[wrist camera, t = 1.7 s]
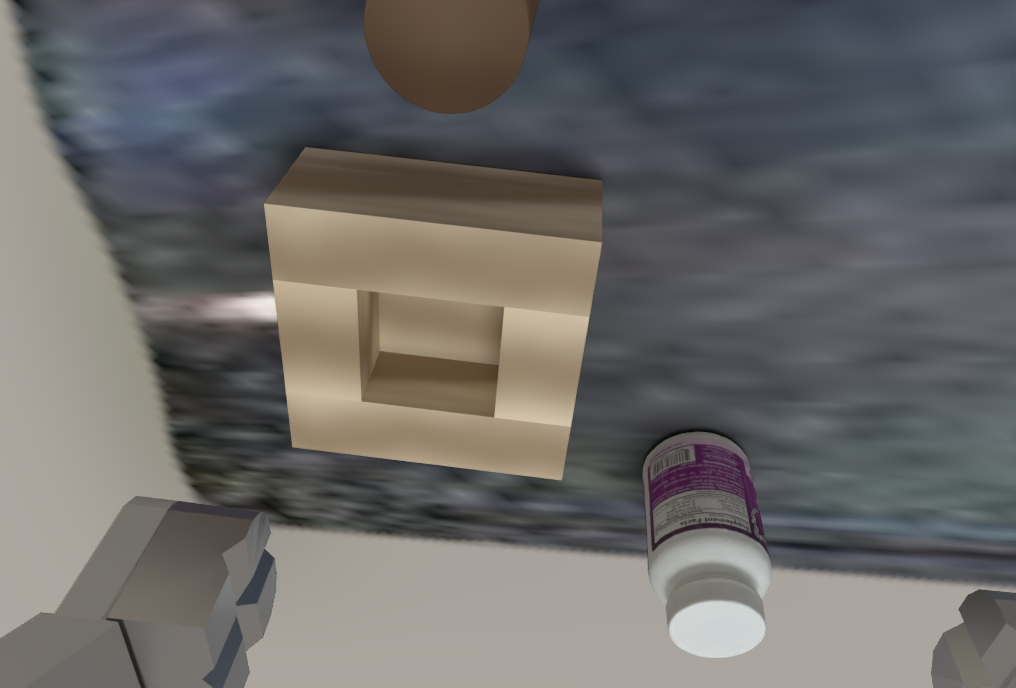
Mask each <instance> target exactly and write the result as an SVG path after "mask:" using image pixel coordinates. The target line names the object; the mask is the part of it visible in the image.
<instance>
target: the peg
mask: <svg viewBox="0 0 1016 688" xmlns="http://www.w3.org/2000/svg"><path fill="white" fill-rule="evenodd" d="M538 1H539V0H367V1H366V6H365V12H364V32H365V39H366V43H367V47H368V50H369V53H370V56H371V59H372V61H373V63H374V65H375V67H376V68H377V70H378V72H379V73H380V75H381V76H382V78H383V79H384V80H385V81H386V82H387V84H388V85H389V86H390V87H391V88H392V89H393V90H394V91H395V92H396V93H398V94H399V95H400V96H401V97H403V98H404V99H406V100H407V101H409V102H411V103H412V104H414V105H416V106H419V107H421V108H423V109H426V110H429V111H433V112H438V113H446V114H457V113H466V112H470V111H474V110H477V109H480V108H482V107H484V106H486V105H488V104H490V103H492V102H493V101H494V100H496V99H497V98H499V97H500V96H501V95H502V94H503V93H504V92H505V91H506V90H507V89H508V88H509V87H510V85H511V84H512V83H513V82H514V80H515V78H516V77H517V75H518V73H519V71H520V69H521V67H522V64H523V61H524V58H525V55H526V51H527V47H528V42H529V38H530V34H531V30H532V26H533V22H534V18H535V13H536V9H537V5H538Z"/></svg>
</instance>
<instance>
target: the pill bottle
mask: <svg viewBox="0 0 1016 688" xmlns="http://www.w3.org/2000/svg"><path fill="white" fill-rule="evenodd" d="M643 488H644V504H645V519H646V536H647V556H648V574H649V579H650V583H651V586H652V588H653V590H654V592H655V594H656V595H657V597H658V598H659V599H660V600H661V601H662V602H663V603H664V604H665V605H666V614H667V624H668V632H669V635H670V637H671V639H672V640H673V642H674V643H675V644H676V645H677V646H678V647H680V648H681V649H683V650H685V651H686V652H689V653H692V654H694V655H697V656H702V657H707V658H724V657H731V656H735V655H739V654H742V653H745V652H747V651H749V650H751V649H752V648H753V647H755V646H756V645H757V644H759V643H760V641H761V640H762V639H763V637H764V635H765V631H766V623H765V616H764V609H763V602H762V598H763V597H764V595H765V594H766V592H767V590H768V588H769V585H770V581H771V562H770V557H769V553H768V549H767V544H766V540H765V534H764V530H763V525H762V520H761V516H760V511H759V506H758V500H757V496H756V491H755V487H754V482H753V477H752V473H751V469H750V466H749V462H748V459H747V457H746V455H745V454H744V453H743V451H742V450H741V449H740V448H739V447H738V446H737V445H736V444H735V443H733V442H732V441H731V440H729V439H727V438H725V437H722V436H720V435H717V434H713V433H708V432H690V433H682V434H679V435H676V436H673V437H670V438H668V439H666V440H664V441H663V442H662V443H660V444H659V445H658V446H656V447H655V449H653V450H652V451H651V452H650V454H649V455H648V456H647V458H646V460H645V463H644V466H643Z"/></svg>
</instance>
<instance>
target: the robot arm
mask: <svg viewBox="0 0 1016 688" xmlns="http://www.w3.org/2000/svg"><path fill="white" fill-rule="evenodd" d="M270 534H271V532H270V527H269V522H268V517H267V514H265V513H262V512H256V511H249V510H241V509H234V508H226V507H219V506H212V505H204V504H197V503H189V502H182V501H172V500H164V499H156V498H148V497H140V496H136V497H134V498H133V499H132V500H130V501H129V502H128V503H127V504H125V505H124V506H123V507H122V509H121V510H120V512H119V513H118V515H117V517H116V518H115V520H114V521H113V523H112V524H111V526H110V527H109V529H108V531H107V532H106V534H105V535H104V537H103V538H102V540H101V541H100V543H99V545H98V546H97V548H96V549H95V551H94V552H93V554H92V555H91V557H90V559H89V560H88V562H87V563H86V565H85V566H84V568H83V569H82V571H81V573H80V574H79V576H78V577H77V579H76V580H75V582H74V584H73V585H72V587H71V588H70V590H69V591H68V593H67V594H66V596H65V598H64V599H63V601H62V602H61V604H60V605H59V607H58V608H57V610H56V612H55V613H54V614H52V613H39V614H38V615H36V616H35V617H33V618H31V619H30V620H28V621H27V622H25V623H24V624H22V625H21V626H19V627H17V628H16V629H14V630H13V631H11V632H10V633H8V634H6V635H5V636H3V637H2V638H0V688H244V686H245V683H246V681H247V678H248V675H249V673H250V671H249V666H248V661H247V656H246V651H247V650H248V649H249V648H250V647H252V646H253V645H254V644H255V643H257V642H258V641H259V640H260V639H261V638H263V636H264V633H265V630H266V627H267V625H268V622H269V619H270V616H271V612H272V607H273V602H274V598H275V593H276V575H277V572H276V564H275V558H274V557H273V556H272V555H270V554H269V553H268V552H267V551H266V550H265V546H266V544H267V541H268V539H269V536H270ZM959 611H960V613H961V616H962V618H963V620H964V623H962V624H960V625H958V626H956V627H954V628H952V629H950V630H948V631H946V632H944V633H943V635H942V636H941V638H940V640H939V642H938V644H937V645H936V647H935V649H934V651H933V660H932V671H931V675H932V682H933V687H934V688H1016V593H1011V592H1000V591H990V590H980V589H979V590H977V591H975V592H973V593H971V594H969V595H968V596H967V597H966V599H965V600H964V602H963V603H962V605H961V606H960V608H959Z"/></svg>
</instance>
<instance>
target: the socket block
mask: <svg viewBox="0 0 1016 688" xmlns="http://www.w3.org/2000/svg"><path fill="white" fill-rule="evenodd" d="M264 207H265V216H266V224H267V233H268V242H269V250H270V259H271V267H272V276H273V284H274V293H275V302H276V310H277V319H278V327H279V336H280V344H281V353H282V361H283V370H284V379H285V387H286V396H287V404H288V413H289V421H290V430H291V439H292V447H296V448H304V449H312V450H320V451H329V452H337V453H345V454H353V455H361V456H369V457H377V458H385V459H394V460H402V461H410V462H418V463H426V464H434V465H442V466H450V467H458V468H467V469H475V470H483V471H491V472H499V473H507V474H515V475H523V476H532V477H540V478H548V479H556V480H562V475H563V469H564V463H565V458H566V452H567V446H568V440H569V434H570V428H571V422H572V416H573V410H574V405H575V399H576V393H577V387H578V381H579V375H580V369H581V363H582V358H583V352H584V346H585V340H586V334H587V328H588V322H589V316H590V310H591V305H592V299H593V293H594V287H595V281H596V275H597V269H598V263H599V258H600V252H601V246H602V180H594V179H585V178H577V177H568V176H559V175H550V174H541V173H532V172H523V171H514V170H506V169H497V168H488V167H479V166H470V165H461V164H452V163H443V162H435V161H426V160H417V159H408V158H399V157H390V156H381V155H372V154H364V153H355V152H346V151H337V150H328V149H319V148H310V147H305V148H304V150H303V151H302V153H301V154H300V155H299V157H298V158H297V159H296V161H295V162H294V163H293V165H292V166H291V168H290V169H289V170H288V172H287V173H286V174H285V176H284V177H283V178H282V180H281V181H280V183H279V184H278V185H277V187H276V188H275V189H274V191H273V192H272V193H271V195H270V196H269V198H268V199H267V200H266V202H265V203H264Z"/></svg>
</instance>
